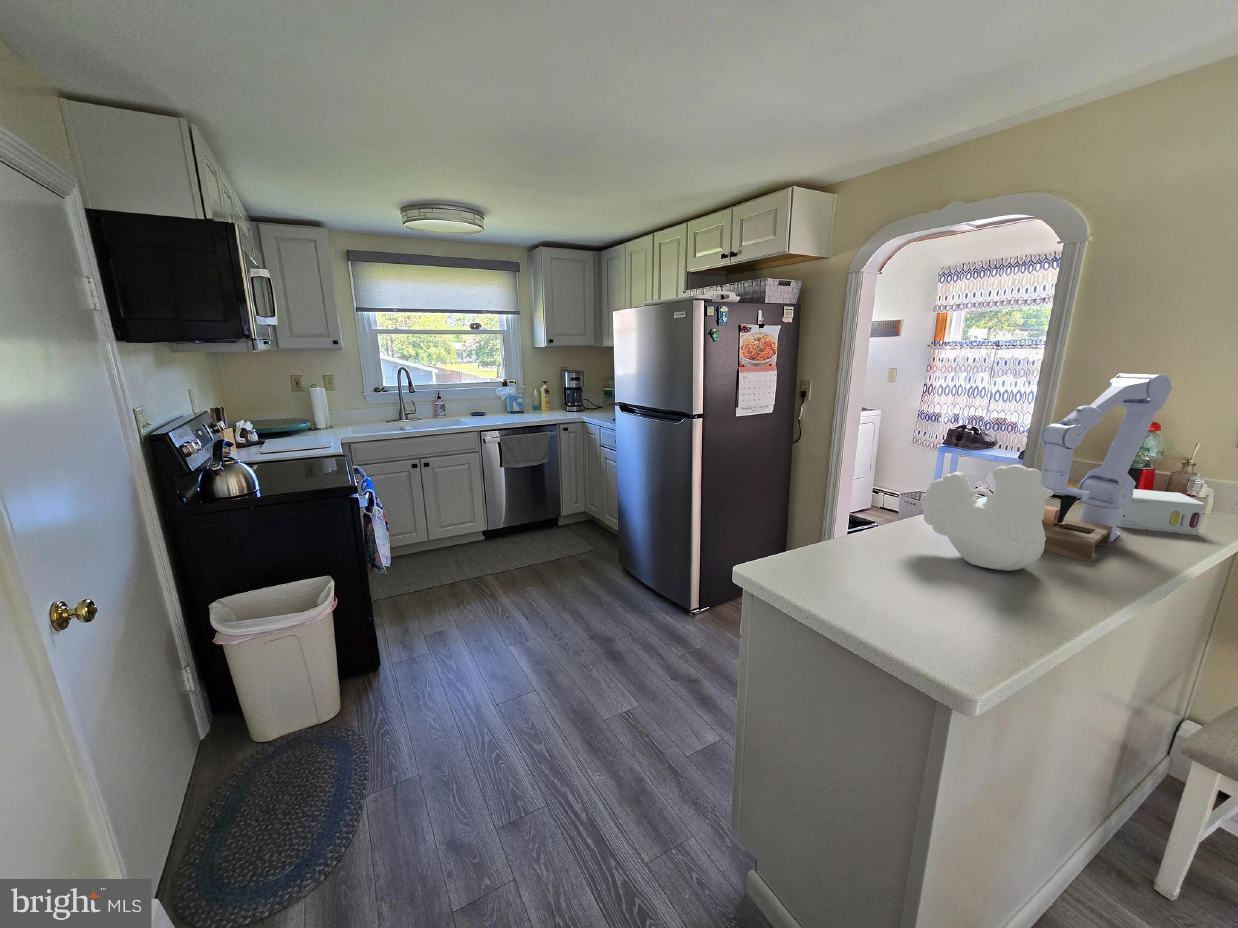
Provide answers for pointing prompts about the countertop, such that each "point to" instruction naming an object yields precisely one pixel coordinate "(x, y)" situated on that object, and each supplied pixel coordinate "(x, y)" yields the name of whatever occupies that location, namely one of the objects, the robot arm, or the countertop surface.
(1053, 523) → the brown piece
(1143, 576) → the countertop surface
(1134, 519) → the supplement box
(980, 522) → the decorative rooster
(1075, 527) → the keyhole board
